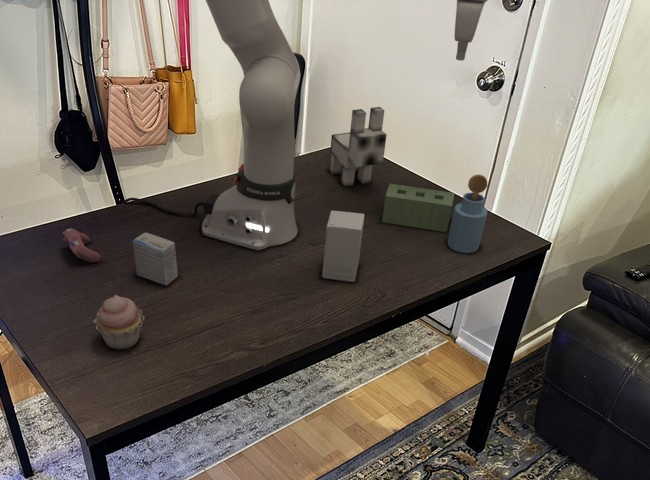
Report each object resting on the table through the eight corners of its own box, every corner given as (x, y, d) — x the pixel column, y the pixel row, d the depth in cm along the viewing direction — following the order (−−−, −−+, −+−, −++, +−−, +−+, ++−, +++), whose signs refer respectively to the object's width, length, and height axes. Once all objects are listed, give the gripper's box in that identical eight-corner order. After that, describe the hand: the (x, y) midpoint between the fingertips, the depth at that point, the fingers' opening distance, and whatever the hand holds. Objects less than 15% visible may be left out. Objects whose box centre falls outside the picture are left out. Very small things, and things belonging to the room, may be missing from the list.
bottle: (446, 250, 161) (456, 202, 154) (448, 234, 167) (458, 187, 159) (477, 255, 160) (489, 207, 152) (479, 239, 165) (491, 192, 157)
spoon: (455, 242, 163) (470, 175, 152) (455, 240, 164) (470, 172, 153) (472, 245, 162) (489, 177, 151) (473, 243, 163) (489, 175, 152)
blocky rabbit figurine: (349, 163, 195) (356, 89, 182) (379, 190, 183) (389, 114, 170) (324, 166, 193) (330, 92, 180) (353, 194, 181) (361, 117, 168)
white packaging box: (355, 283, 150) (361, 230, 142) (321, 278, 151) (325, 225, 143) (359, 264, 156) (365, 213, 147) (326, 260, 157) (330, 208, 148)
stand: (381, 222, 170) (385, 195, 166) (385, 209, 175) (389, 183, 171) (446, 232, 168) (452, 205, 163) (449, 219, 172) (454, 192, 168)
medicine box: (178, 277, 150) (175, 241, 144) (165, 287, 147) (162, 251, 141) (149, 266, 153) (145, 231, 147) (136, 275, 150) (131, 240, 144)
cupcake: (146, 322, 138) (141, 279, 131) (147, 352, 131) (142, 309, 124) (97, 326, 136) (90, 282, 130) (96, 356, 129) (88, 312, 123)
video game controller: (74, 250, 160) (55, 229, 154) (90, 239, 160) (72, 217, 154) (86, 272, 153) (67, 250, 148) (103, 260, 153) (84, 238, 148)
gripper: (463, -31, 151) (451, 38, 160) (455, -9, 136) (442, 65, 145) (493, -28, 150) (479, 41, 159) (488, -6, 135) (473, 69, 144)
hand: (461, 52), depth 152 cm, fingers open, 8 cm apart
